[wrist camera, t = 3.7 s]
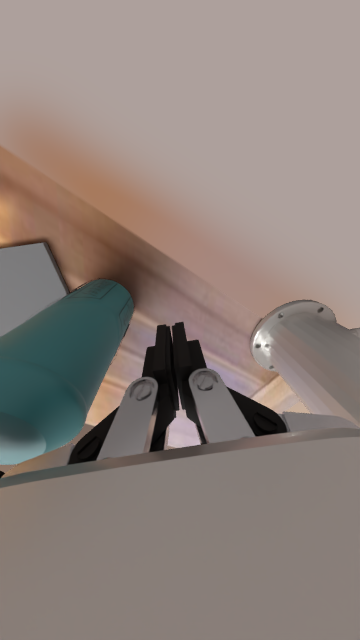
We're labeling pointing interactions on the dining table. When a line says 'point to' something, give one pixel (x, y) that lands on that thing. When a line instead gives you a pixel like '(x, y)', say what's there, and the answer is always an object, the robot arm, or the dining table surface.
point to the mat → (27, 283)
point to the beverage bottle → (58, 368)
